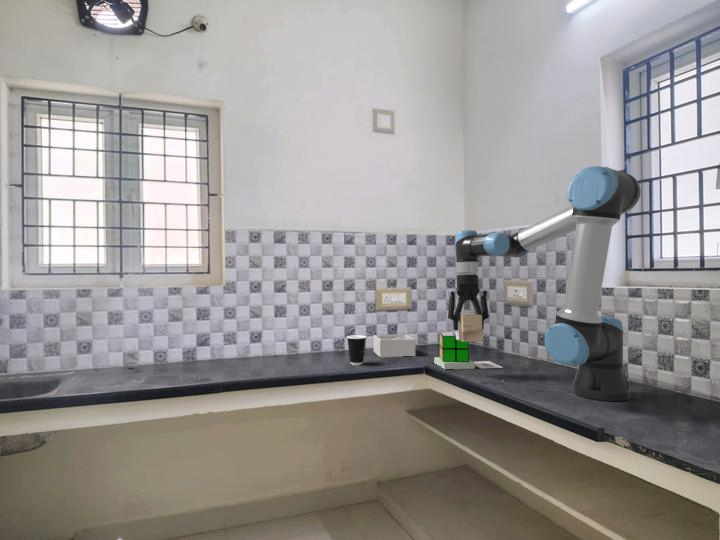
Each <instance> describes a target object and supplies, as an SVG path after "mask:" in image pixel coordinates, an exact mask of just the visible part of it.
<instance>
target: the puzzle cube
mask: <svg viewBox="0 0 720 540" xmlns="http://www.w3.org/2000/svg"><path fill="white" fill-rule="evenodd" d="M469 348H470V341H467V342H463V341H460V340H457V339H456V332H450V331H449V332H446V331H445V332H440V333H439V357H440V358H441V359H442V361H443V362H455V361H456V362H469V360H470V349H469Z"/></svg>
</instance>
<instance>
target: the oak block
mask: <svg viewBox="0 0 720 540" xmlns="http://www.w3.org/2000/svg"><path fill="white" fill-rule="evenodd" d="M458 321H460V322H461V340H460V341H463V342H467V341H469V342H484V341H483V329H482V315H479V314H476V313H461V314H460V317H459V320H458Z"/></svg>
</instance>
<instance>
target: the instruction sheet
mask: <svg viewBox="0 0 720 540" xmlns="http://www.w3.org/2000/svg"><path fill="white" fill-rule="evenodd" d="M474 362H475V367H477V368H479V369H502V368H503V369H504V367H503V366H501V365H499V364H496V363H495V362H492V361H490V360H488V361H487V360H486V361H483V360H482V361H474Z"/></svg>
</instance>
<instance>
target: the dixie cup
mask: <svg viewBox="0 0 720 540" xmlns="http://www.w3.org/2000/svg"><path fill="white" fill-rule="evenodd" d="M346 339H347V347H348V356H349V357H348V358H349V362H350V365H351V364H352V366H362V365H363V364H364V363H363V362H364V361H365V360H364V358H365V348H366V340H367V336H366V335H361V334H360V335H358V334H356V335H355V334H354V335H347V336H346ZM361 364H362V365H361Z"/></svg>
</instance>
